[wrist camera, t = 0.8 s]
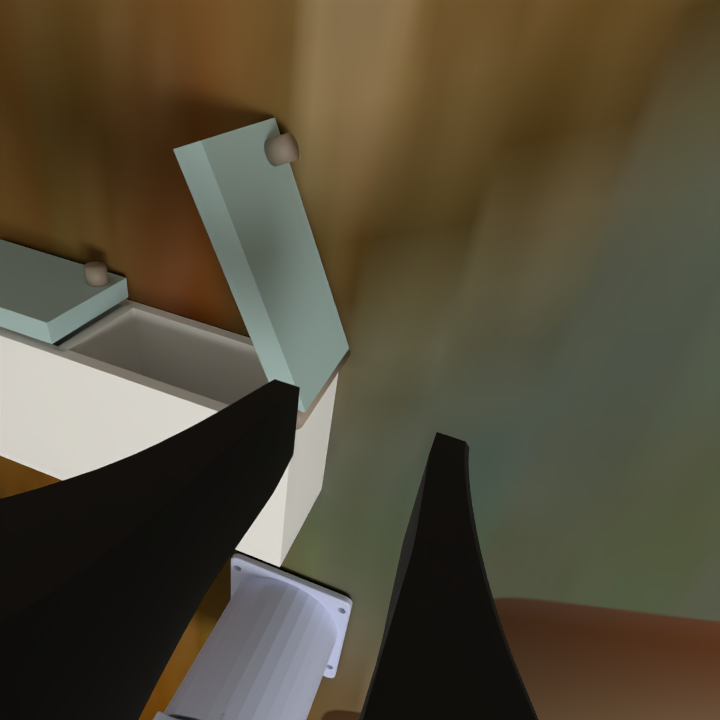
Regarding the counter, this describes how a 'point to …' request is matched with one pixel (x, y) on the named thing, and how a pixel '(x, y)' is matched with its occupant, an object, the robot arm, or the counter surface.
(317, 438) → the cabinet
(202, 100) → the counter surface
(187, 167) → the door
